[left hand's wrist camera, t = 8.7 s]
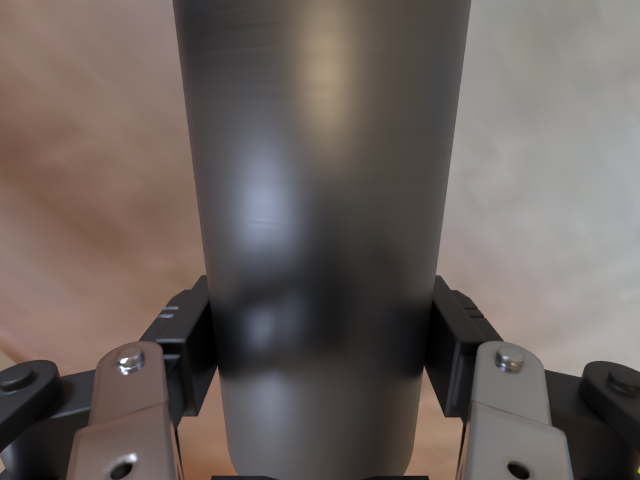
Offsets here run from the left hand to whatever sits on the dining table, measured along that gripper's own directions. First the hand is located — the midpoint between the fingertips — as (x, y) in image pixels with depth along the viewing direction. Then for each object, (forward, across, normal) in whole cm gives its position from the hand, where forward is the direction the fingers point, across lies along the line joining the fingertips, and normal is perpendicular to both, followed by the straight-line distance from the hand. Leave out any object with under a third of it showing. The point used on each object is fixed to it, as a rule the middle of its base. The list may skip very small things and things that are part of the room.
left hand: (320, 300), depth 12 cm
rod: (+2, 0, -9) cm, 9 cm away
